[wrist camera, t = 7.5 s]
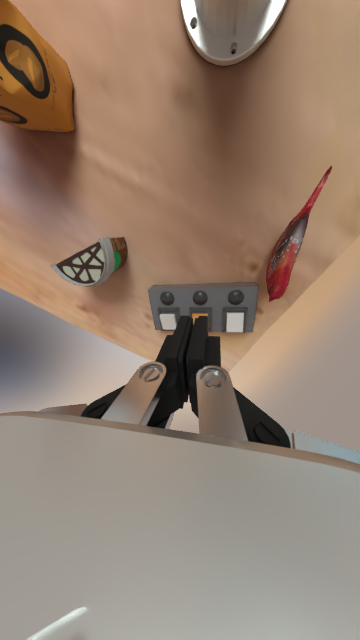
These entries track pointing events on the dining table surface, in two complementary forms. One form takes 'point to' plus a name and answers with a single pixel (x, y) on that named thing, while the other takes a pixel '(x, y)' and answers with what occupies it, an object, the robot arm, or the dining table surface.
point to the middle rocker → (197, 316)
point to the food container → (93, 262)
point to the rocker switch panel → (205, 302)
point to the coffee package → (32, 77)
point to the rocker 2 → (235, 322)
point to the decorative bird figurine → (289, 247)
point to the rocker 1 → (168, 321)
